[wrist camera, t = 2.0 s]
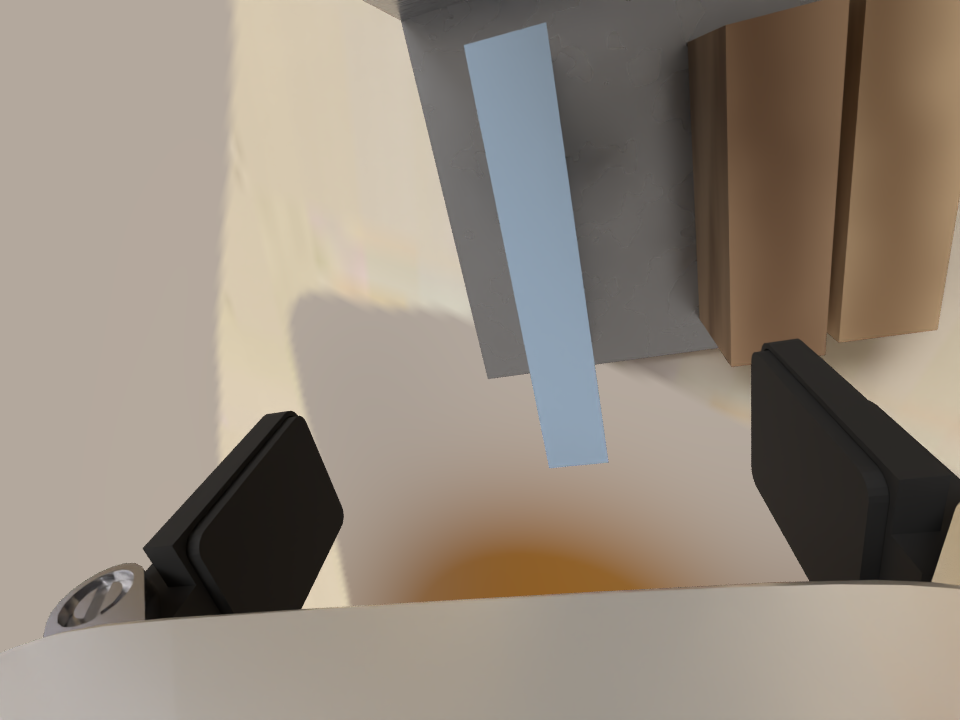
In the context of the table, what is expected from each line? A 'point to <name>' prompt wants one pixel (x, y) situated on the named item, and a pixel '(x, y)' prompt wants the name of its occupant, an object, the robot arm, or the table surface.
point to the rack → (581, 160)
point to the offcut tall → (767, 174)
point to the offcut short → (896, 168)
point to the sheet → (539, 236)
